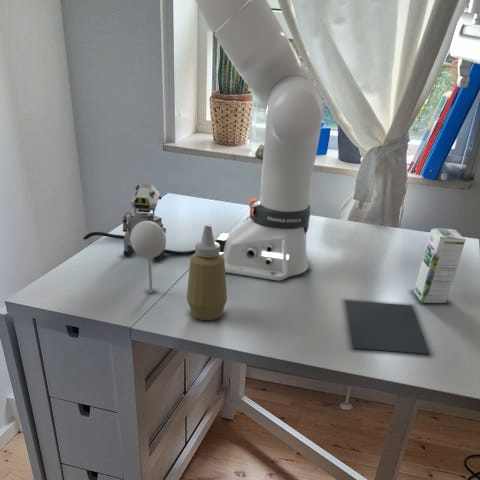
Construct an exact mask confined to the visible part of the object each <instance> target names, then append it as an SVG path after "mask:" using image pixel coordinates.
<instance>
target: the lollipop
mask: <svg viewBox="0 0 480 480" xmlns="http://www.w3.org/2000/svg"><path fill="white" fill-rule="evenodd" d="M130 241H131V245H132V248H133V249H134V253H135V254H137V255H139V257H142V258H145V259H147V275H148V292H149V294H153V273H152V258H153V259H154V257H156V256H158V255H159V254H160V253H161V252H162V251H163V250H164V249H165V247H166V244H167V236H166V233H165V232H164V231H163V229H162V228H161V227H160V226H159V225H158V224H157V223H155V222H152V221H143V222H140V223H138V224H137V225H136V226H135V227H134V228H133V230H132V232H131V236H130Z"/></svg>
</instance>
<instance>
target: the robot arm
mask: <svg viewBox="0 0 480 480" xmlns="http://www.w3.org/2000/svg"><path fill="white" fill-rule="evenodd" d="M195 2H196V5H197V7H198V9H199V11H200V12H201V15H202V17H203V18H204V20H205V22H206V24H207V25H208V27H209V29H210V30H211V32H212V34H213V36H215V38H216V40H217V42H218V43H219V45H220V47H221V48H222V49H223V51H224V53H225V54H226V56H227V57H228V59H229V61H230V62H231V64H232V66H233V67H234V69H235V71H236V72H237V73H238V75H239V76H240V77H241V78H242V79H243V81H244V82H245V84H246V85H247V87H248V88H249V89H250V91H251V92H252V94H253V95H254V97H255V98H256V99H257V101H258V102H259V104H260V105H261V107H262V109H263V110H264V111H265V115H266V118H265V119H266V120H265V131H264V143H263V145H264V154H263V165H262V167H261V181H260V197H259V200H258V199H257V198H254V197H253V198H251V199H250V201H249V206H248V207H249V208H250V209H249V210H250V211H249V215H250V218H249V219H248V220H247V219H246V220H244V221H243V222H241V223H240V224H239V225H237V226H236V227H234V228H232V229H231V230H230V232H228V233H226V232H221V233H220V235H219V236H218V237H217V238H216V240H215V239H214V242H217V243H218V244H219V245H220V254H221V255H222V256H223V257H224V260H225V273H227V274H234V275H240V276H247V277H254V278H259V279H265V280H270V281H271V280H273V281H278V282H279V281H283V280H285V279H288V278H289V277H293V276H298V275H301V274H303V273H306V271H307V270H308V269H309V263H308V253H307V232H308V230H309V227H310V219H311V205H310V199H311V192H312V191H311V190H312V184H313V183H312V182H313V173H314V168H315V163H316V158H317V152H318V148H319V142H320V137H321V130H322V123H323V119H324V118H323V117H324V102H323V100H322V96H321V95H320V92H319V90H318V88H317V87H316V85H315V82H314V81H313V79H312V78H311V76H310V74H309V73H308V71H307V68H306V67H305V65H304V64H303V62H302V60H301V58H300V57H299V54H298V53H297V52H296V49H295V47H294V46H293V44H292V42H291V41H290V39H289V37H288V36H287V33H286V31H285V30H284V29H283V27H282V25H281V23H280V21H279V20H278V17H277V16H276V15H275V13H274V12H273V9H272V7H271V5H270V4H269V1H267V0H195ZM450 56H451V57H452V58H455V59H458V63H457V75H458V78H457V80H456V86H457V88H468V86H469V82H470V78H471V77H470V76H469V75H470V74H469V73H470V67H471V66H472V63H474V64H477V65H480V0H470V1H469V3H468V5H467V7H465V9H464V12H462V13H461V15H460V16H459V19H458V20H457V24H456V27H455V31H454V34H453V37H452V41H451V44H450ZM94 236H102V237H107V238H112V239H120V240H124V237H125V235H121V234H113V233H108V232H104V231H92V232H89V233H87V234H85V235H84V236H83V238H82V240H84V241H85V240H88V239H89V238H92V237H94ZM164 250H165V254H167V255H168V254H169V255H174V256H188V255H193V254H195V249H193V250H187V251H179V250H171V249H165V248H164Z"/></svg>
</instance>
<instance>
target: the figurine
mask: <svg viewBox="0 0 480 480" xmlns="http://www.w3.org/2000/svg"><path fill="white" fill-rule="evenodd" d="M160 195H161V193H160V192H159V191H158V190H157V189H156V187H155V186H153V184H149V183H141V184H138V185H136V186H135V188H134V190H133V192H132V195H131V198H130V201H129V203H130V205H131V207H132V208H133V209H134V213H131V212H125V214H124V216H122V232H123V233H124V236H125V237H124V239H123V256H124V257H131V255H132V254H134V253H135V251H134V249H133V248H132V245H131V241H130V236H131V232H132V230H133V228H134V227H135V226H136V225H137V224H138V223H140V222H143V221H152V222H155V223H157V224H158V225H159V226H160V227H161V228H162V229H163V231H164V232H165V234H167V228H166V227H164V224H163V221H162V219H163V218H162V217H160V216H157V215H155V211H156V208H157V206H158V201H159V200H162V197H161V196H160ZM137 211H138V212H137ZM151 211H152V213H151ZM127 214H128V215H127ZM165 255H166V253H165V250H163V251H162V252H161V253H160V254H159V255H158V256H156V257H153V260H154V261H158V262H160V261H161V260H162V258H164V257H165Z"/></svg>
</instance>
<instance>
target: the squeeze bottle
mask: <svg viewBox="0 0 480 480" xmlns="http://www.w3.org/2000/svg"><path fill="white" fill-rule="evenodd" d="M214 241H215V237H214V232H213V228H212V224H209V223H206V224H204V228H203V231H202V236H201V240H200V241H197V242H196V243H195V245H194V246H195V247H194V250H195V254H191V255H190V259H189V260H190V261H189V271H188V279H187V282H188V283H187V291H186V301H187V303H188V306H189V309H190V312H191V314H192V316H193V317H194V318H195V319H198V320H201V321H213V320H216V319H219V318H220V317H221V315H222V314H223V311H224V309H225V307H226V304H227V302H228V292H227V291H228V289H227V277H226V275H227V274H226V272H225V260H224V257H223V256H222V255H221V254H220V245H219V244H218V243H217V242H214Z"/></svg>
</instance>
